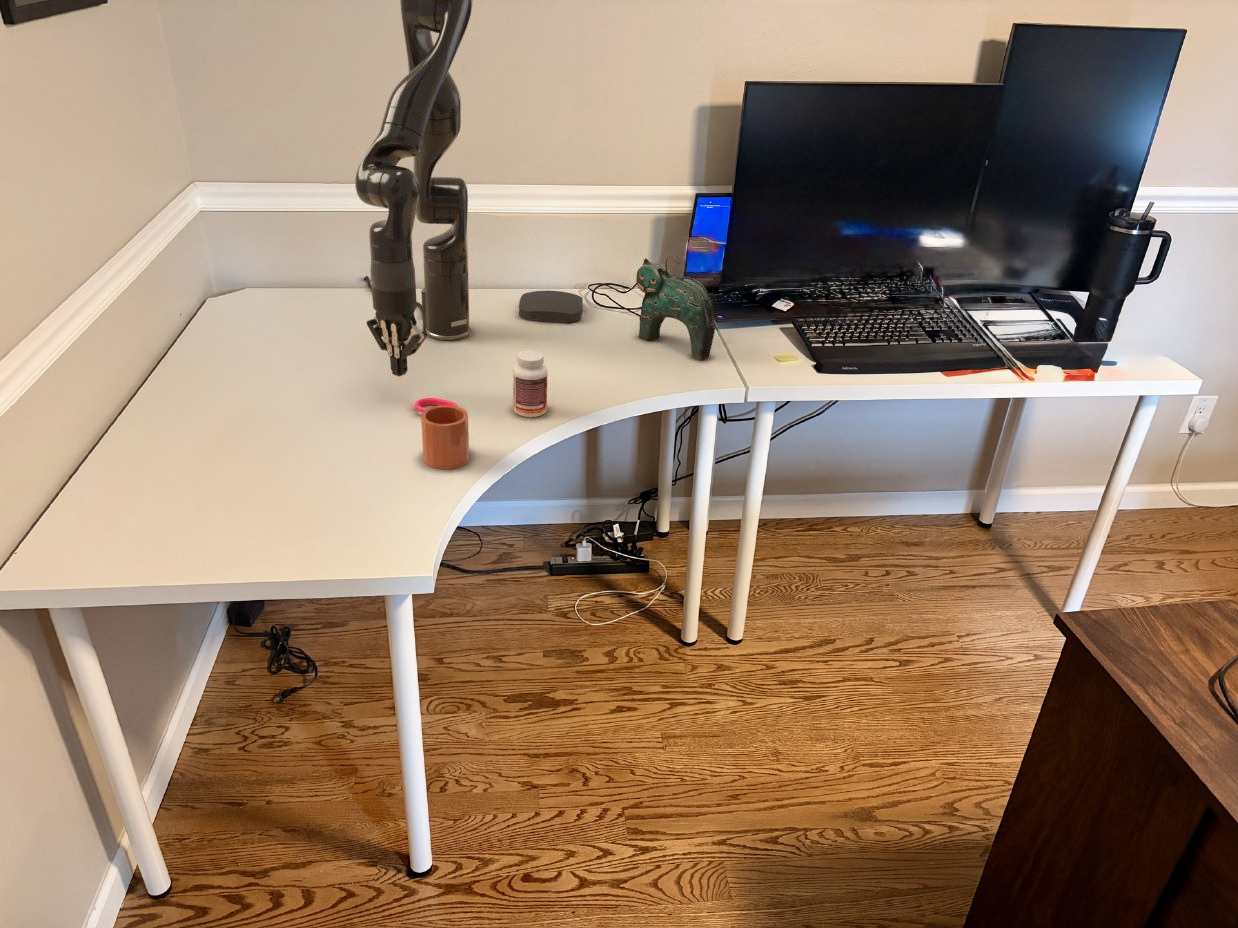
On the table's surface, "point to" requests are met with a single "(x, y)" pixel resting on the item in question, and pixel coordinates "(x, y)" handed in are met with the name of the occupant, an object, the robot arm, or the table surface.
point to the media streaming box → (551, 306)
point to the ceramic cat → (675, 306)
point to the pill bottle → (530, 384)
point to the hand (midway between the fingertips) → (399, 374)
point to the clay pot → (445, 437)
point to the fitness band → (431, 401)
